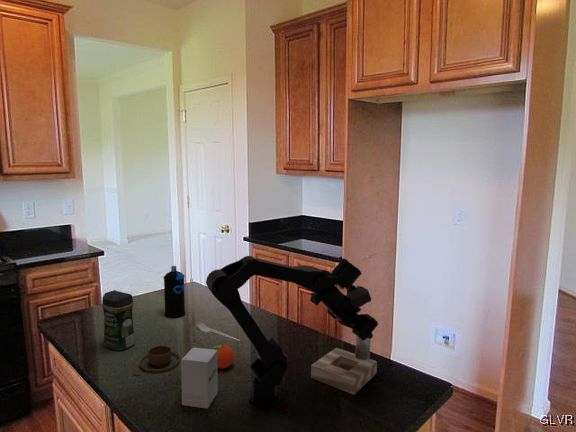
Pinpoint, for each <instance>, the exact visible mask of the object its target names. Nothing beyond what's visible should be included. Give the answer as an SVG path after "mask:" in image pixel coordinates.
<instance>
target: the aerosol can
mask: <svg viewBox="0 0 576 432" xmlns="http://www.w3.org/2000/svg"><path fill="white" fill-rule="evenodd" d="M170 269H171V270H170V271H169V272H167V273H165V275H164V276H163V277H162V278H163V282H164V283H163V285H164V286H163V287H164V288H163V289H164V290H163V291H164V294H163V295H164V317H166V318H167V319H179V318H182V317H184V316H185V315H186V309H185V308H186V304H185V303H186V302H185V300H186V299H185V277H186V276H185V274H183V273H182V272H181V271H178V270H177V265H171V268H170Z"/></svg>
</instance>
